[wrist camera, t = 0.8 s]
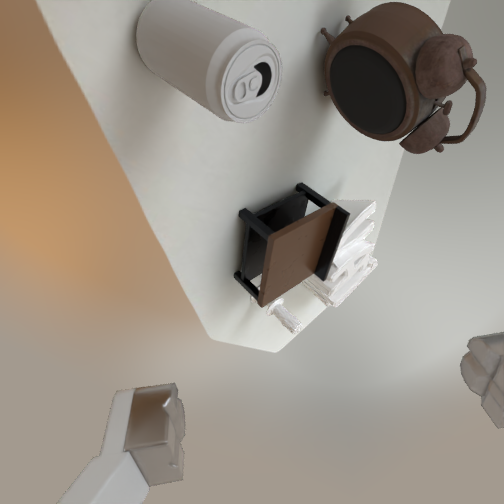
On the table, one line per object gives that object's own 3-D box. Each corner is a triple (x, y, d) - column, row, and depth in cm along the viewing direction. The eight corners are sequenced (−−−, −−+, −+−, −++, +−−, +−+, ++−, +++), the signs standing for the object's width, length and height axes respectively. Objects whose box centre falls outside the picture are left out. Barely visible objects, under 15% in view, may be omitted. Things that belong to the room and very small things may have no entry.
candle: (271, 288, 78) (310, 326, 72) (253, 305, 77) (291, 344, 71) (267, 278, 74) (308, 317, 68) (248, 295, 73) (288, 336, 67)
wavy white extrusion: (285, 225, 65) (328, 259, 60) (346, 171, 68) (392, 199, 63) (301, 297, 95) (331, 324, 90) (344, 257, 98) (375, 281, 93)
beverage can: (202, 59, 35) (287, 106, 29) (146, 86, 33) (225, 142, 27) (187, -20, 30) (287, 18, 24) (119, 6, 27) (209, 55, 22)
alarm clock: (305, 16, 40) (475, 78, 30) (350, -18, 41) (527, 31, 31) (315, 119, 52) (437, 187, 42) (349, 90, 53) (475, 150, 44)
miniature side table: (232, 278, 64) (271, 317, 59) (238, 210, 53) (286, 250, 48) (287, 247, 72) (326, 279, 66) (302, 180, 60) (350, 213, 55)
